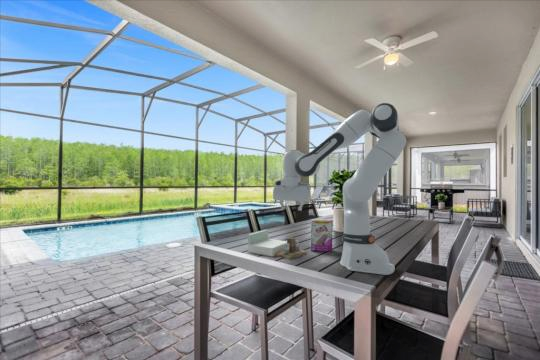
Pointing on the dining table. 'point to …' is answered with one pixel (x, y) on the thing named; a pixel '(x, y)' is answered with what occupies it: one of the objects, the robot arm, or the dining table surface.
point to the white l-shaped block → (264, 244)
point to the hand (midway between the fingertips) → (291, 209)
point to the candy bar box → (321, 235)
